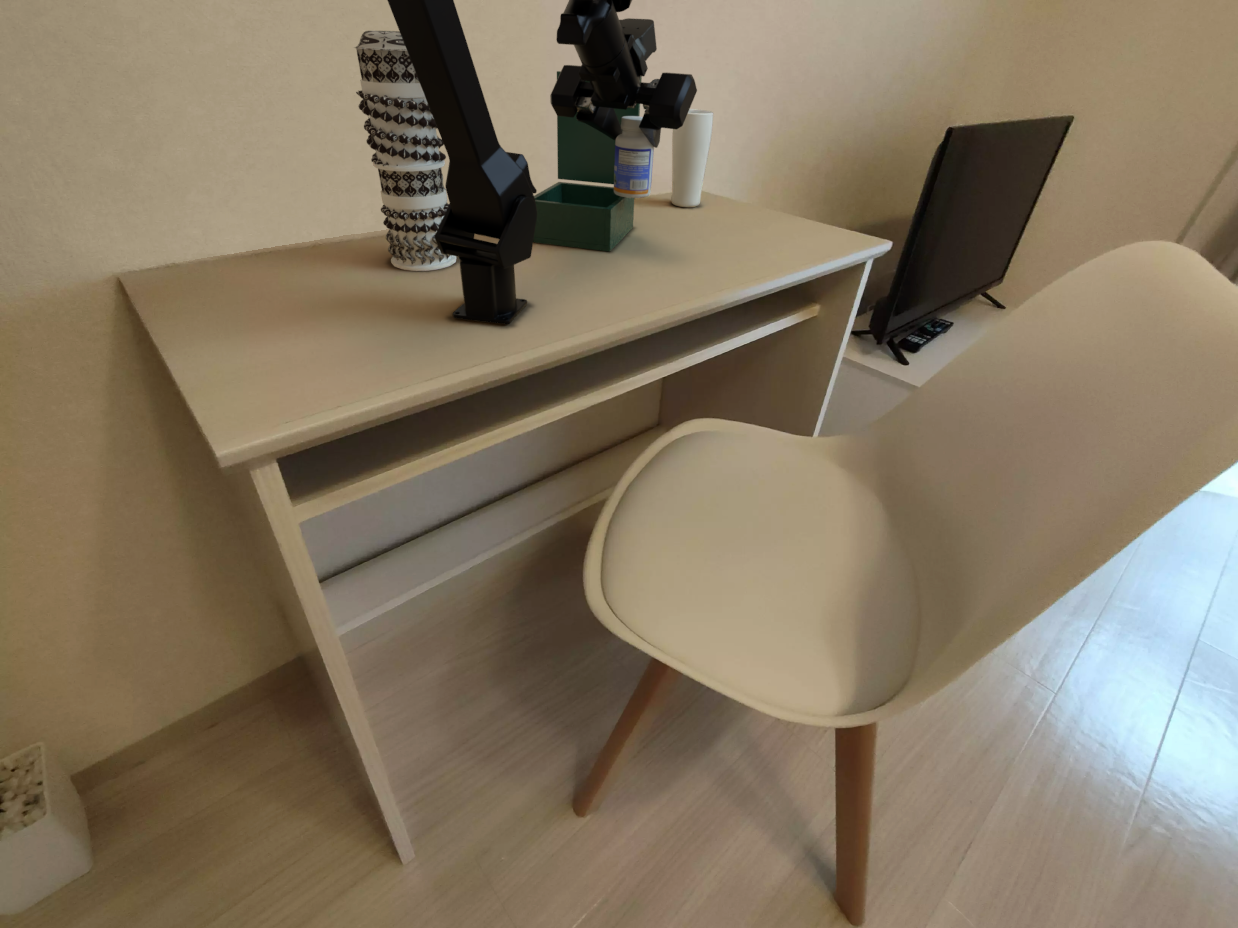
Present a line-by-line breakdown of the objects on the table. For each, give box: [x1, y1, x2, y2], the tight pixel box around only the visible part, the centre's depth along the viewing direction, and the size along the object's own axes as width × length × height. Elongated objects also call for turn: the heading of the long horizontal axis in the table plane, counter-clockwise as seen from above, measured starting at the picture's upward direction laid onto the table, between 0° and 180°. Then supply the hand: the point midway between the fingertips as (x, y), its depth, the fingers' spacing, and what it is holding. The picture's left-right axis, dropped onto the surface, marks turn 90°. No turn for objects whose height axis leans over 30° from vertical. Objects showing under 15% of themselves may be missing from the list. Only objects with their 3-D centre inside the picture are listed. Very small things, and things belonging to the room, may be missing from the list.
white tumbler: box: [670, 108, 714, 208], centre depth 108 cm, size 7×7×15 cm
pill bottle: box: [613, 116, 655, 199], centre depth 85 cm, size 5×5×10 cm
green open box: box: [533, 181, 635, 252], centre depth 92 cm, size 14×13×6 cm
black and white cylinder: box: [353, 30, 458, 272], centre depth 74 cm, size 9×9×25 cm
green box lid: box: [556, 70, 643, 185], centre depth 93 cm, size 14×13×4 cm
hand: (639, 142), depth 85 cm, fingers closed on pill bottle, 5 cm apart
